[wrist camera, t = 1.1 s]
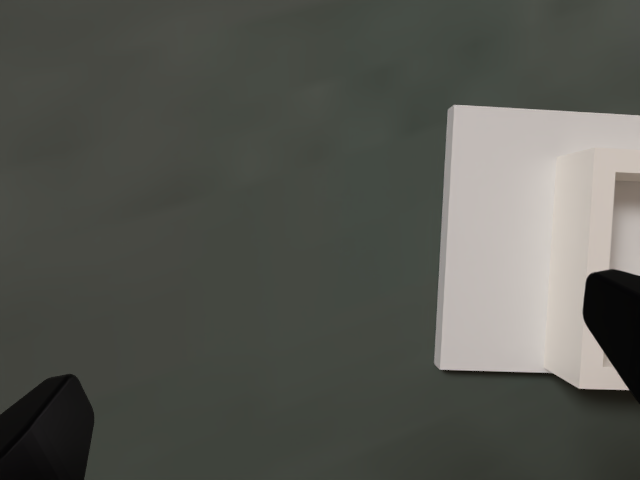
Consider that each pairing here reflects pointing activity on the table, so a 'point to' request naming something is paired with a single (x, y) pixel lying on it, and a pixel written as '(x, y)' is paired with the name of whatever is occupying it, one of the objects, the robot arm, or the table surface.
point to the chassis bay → (533, 237)
